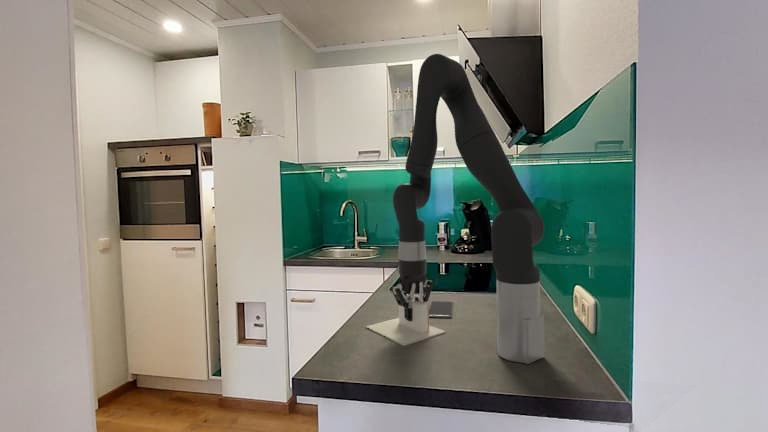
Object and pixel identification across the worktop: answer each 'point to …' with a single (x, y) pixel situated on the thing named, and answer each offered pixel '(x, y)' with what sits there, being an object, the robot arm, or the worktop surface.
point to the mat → (403, 332)
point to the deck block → (416, 316)
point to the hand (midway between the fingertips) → (413, 319)
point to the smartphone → (440, 309)
